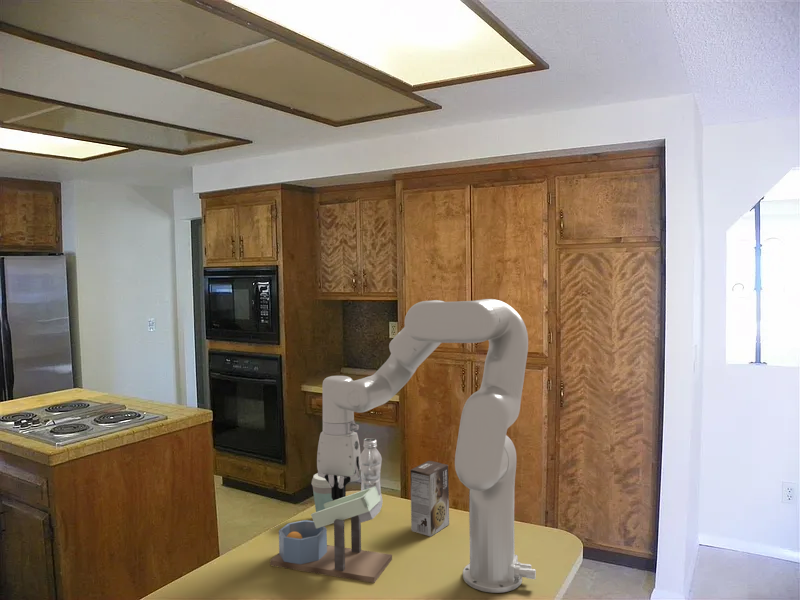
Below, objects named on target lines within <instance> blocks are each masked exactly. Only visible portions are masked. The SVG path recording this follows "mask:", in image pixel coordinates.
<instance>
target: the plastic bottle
mask: <svg viewBox="0 0 800 600" xmlns="http://www.w3.org/2000/svg"><path fill="white" fill-rule="evenodd" d="M377 443H378V441H377V439H376V438H373V437H371V438H365V439H363V445H362V446H363V450H362V451H361V452H360V454H361V470H360V479H361V481H360V482H361V487H360V491H363V490H366V489H369V488H372V487H374V486H376V489H377V491H378V494H379V496H380V499H381V500H380V501H379V502H378V505H379V507H380V510H381V509H382V507H383V502H384V501H383V496H382V495H383V494H382V490H381V488H382V487H381V472H382V471H381V468H382V462H383V458H382V455H381V453H380V451H379V450H378V449H377V448H378V444H377Z"/></svg>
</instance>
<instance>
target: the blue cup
mask: <svg viewBox="0 0 800 600" xmlns="http://www.w3.org/2000/svg"><path fill="white" fill-rule="evenodd" d="M327 531H328V529H327V527H326V526H323V527H320V528H317V529H316V527H315V524H314V521H313V520H309V519H308V520H307V519H306V520H304V519H303V520H299V521H294V522H288V523H287V524H286V525H284V526H283V527H281V528H280V529H279V530H278V553H279V554H280V556H281V558H282V559H283V561H284V562H289V563H295V564H304V563H309V562H313V561H318V560H319V559H321V558H322V557H323V556H324V555H325V554H326V553H327V545H328V537H327V536H328V534H327V533H328V532H327ZM291 532H298V533H300V534H301V536H302V539H298V538H291V537H287V535H288V534H289V533H291Z"/></svg>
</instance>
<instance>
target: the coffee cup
mask: <svg viewBox="0 0 800 600" xmlns="http://www.w3.org/2000/svg"><path fill="white" fill-rule="evenodd" d="M339 478H340V476H338V481H339ZM311 486H312V491H313V500H314V507H315V512H318V511H321V510H324V509H325V507H324V505H323V504H325V503H327V502H330V501H333V499H332V497H331V487H330V486H329V483H328V482H327V480H326V479H325V478H322V477H320V476H318V472H317V473H315V474H313V477H312V479H311Z"/></svg>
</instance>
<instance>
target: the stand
mask: <svg viewBox="0 0 800 600" xmlns="http://www.w3.org/2000/svg"><path fill="white" fill-rule="evenodd" d="M361 529H362V525H361V522H360V519H359V517H358V515H357V516H354V517H351V518H350V530H351V531H350V533H351V534H350V537H351V538H350V539H351V540H350V541H351V543H350V544H351V548H350V547H345V546H346V545H345V543H346V542H345V540H346V539H345V519H344V520H338V519H336V520H335V521H334V523H333V539H334V540H333V541H334V542H333V543H334V544H333V545H331V544H330V545H329V544H327V553H326V554H325V555H324V556H323V557H322V558H321V559H319V560H318V561H313V562H309V563H304V564H295V563H289V562H284V561H283V559H282V558H281V556H280V554H279V552H277V554H275V555H274V556H273V557H272V558H271V559H270V560H269V565H272V567H276V566H278V567H277V568H282V567H284V568H283V569H288V568H290V569H289V570H293V571H294V570H295V571H302V572H306V573H313V574H319V575H325V576H331V577H336V578H343V579H349V580H355V581H359V582H360V581H361V582H365V583H372V584H375V583H376V582H377V580H378V579H379V578H380V576H381V575H382V574H383V572H384V571H385V570H386V568H387V567H388V566H389V564H391V562H392V561H393V554H392V553H390V554H389V553H384V552H376V551H371V550H370V551H369V550H363V549H362V542H361V541H362V530H361Z"/></svg>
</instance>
